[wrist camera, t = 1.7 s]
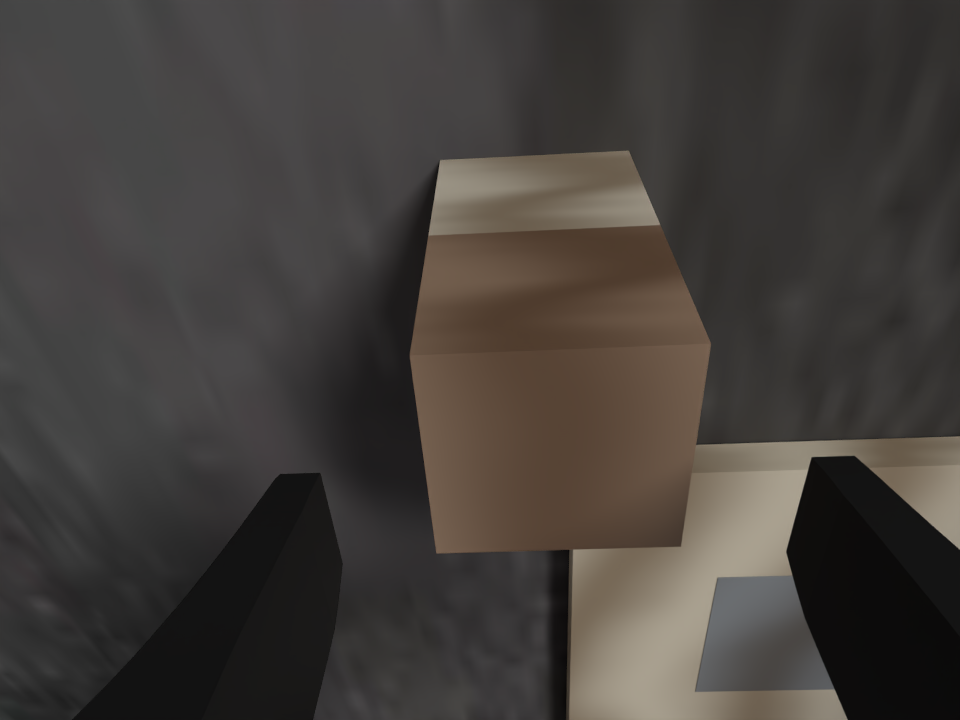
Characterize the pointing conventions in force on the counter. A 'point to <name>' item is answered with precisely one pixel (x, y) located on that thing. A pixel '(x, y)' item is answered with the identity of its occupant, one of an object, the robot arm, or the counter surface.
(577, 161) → the block stack
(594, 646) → the birch board
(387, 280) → the counter surface
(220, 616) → the robot arm
